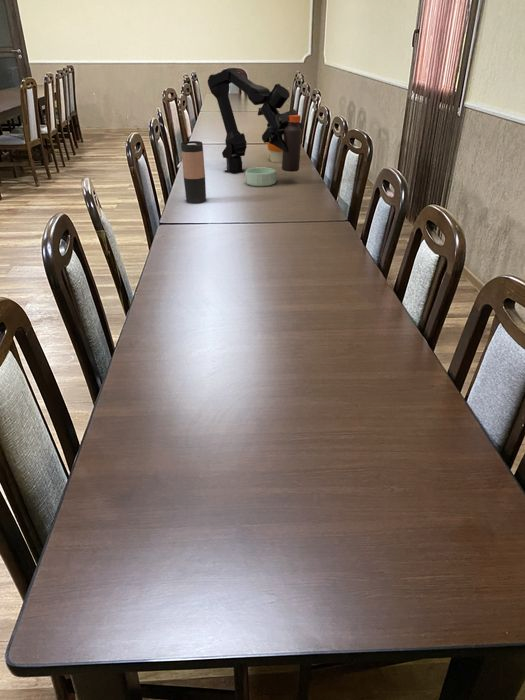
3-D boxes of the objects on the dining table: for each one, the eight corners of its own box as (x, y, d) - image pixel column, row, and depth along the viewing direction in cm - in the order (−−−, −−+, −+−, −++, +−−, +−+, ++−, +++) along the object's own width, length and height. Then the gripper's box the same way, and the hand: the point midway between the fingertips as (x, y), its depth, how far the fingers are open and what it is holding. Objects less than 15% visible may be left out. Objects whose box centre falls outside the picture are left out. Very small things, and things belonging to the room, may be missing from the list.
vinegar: (279, 170, 211) (282, 115, 200) (284, 167, 216) (288, 113, 206) (295, 172, 209) (299, 117, 199) (300, 169, 214) (305, 115, 204)
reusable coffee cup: (267, 157, 260) (267, 124, 253) (293, 157, 259) (294, 124, 252) (265, 163, 250) (264, 128, 242) (292, 163, 248) (292, 128, 241)
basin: (239, 184, 216) (239, 171, 214) (259, 178, 224) (259, 166, 221) (262, 188, 209) (262, 175, 207) (282, 182, 217) (282, 169, 214)
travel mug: (186, 198, 199) (181, 141, 188) (206, 197, 199) (202, 140, 189) (185, 204, 192) (179, 145, 182) (206, 203, 193) (202, 144, 182)
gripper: (267, 104, 197) (288, 140, 196) (300, 99, 208) (321, 133, 207) (252, 125, 206) (273, 159, 205) (285, 119, 217) (305, 152, 216)
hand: (293, 150), depth 208 cm, fingers closed on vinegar, 7 cm apart
